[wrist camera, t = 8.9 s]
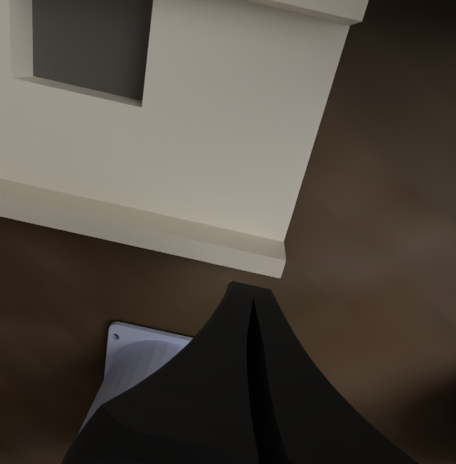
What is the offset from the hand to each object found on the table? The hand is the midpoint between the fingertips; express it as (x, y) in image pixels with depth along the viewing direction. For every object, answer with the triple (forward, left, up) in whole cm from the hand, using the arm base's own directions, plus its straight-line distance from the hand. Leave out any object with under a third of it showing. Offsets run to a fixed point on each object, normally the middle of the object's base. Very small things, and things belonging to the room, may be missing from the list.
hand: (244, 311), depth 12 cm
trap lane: (+4, +12, -10) cm, 16 cm away
